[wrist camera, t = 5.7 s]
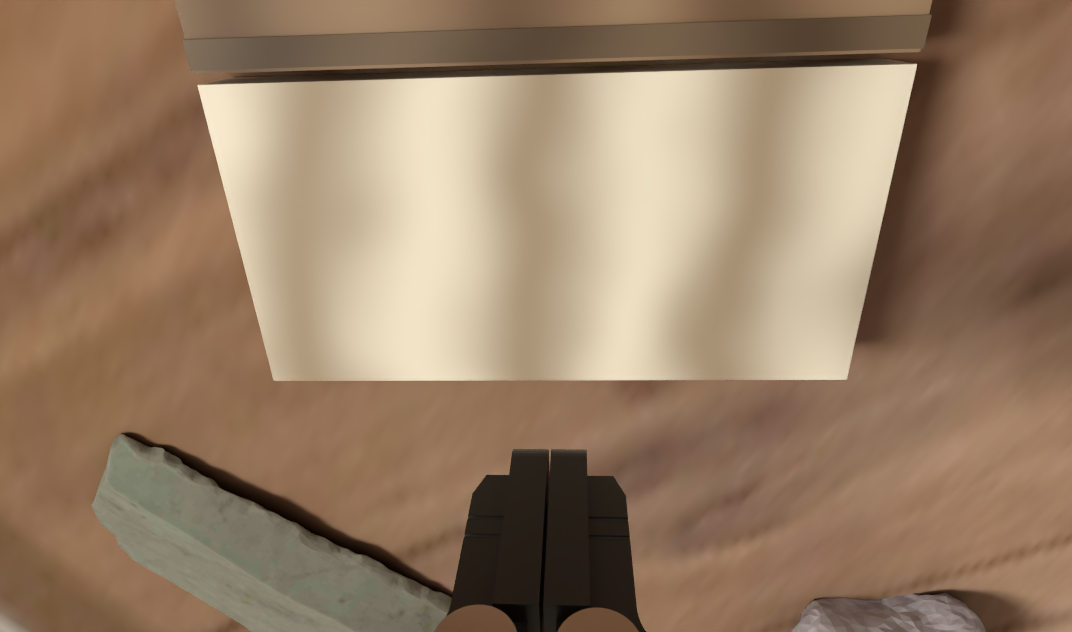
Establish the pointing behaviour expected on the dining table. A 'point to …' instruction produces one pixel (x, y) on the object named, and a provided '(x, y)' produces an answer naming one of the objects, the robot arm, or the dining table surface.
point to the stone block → (890, 615)
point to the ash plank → (561, 218)
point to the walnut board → (533, 31)
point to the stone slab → (250, 553)
